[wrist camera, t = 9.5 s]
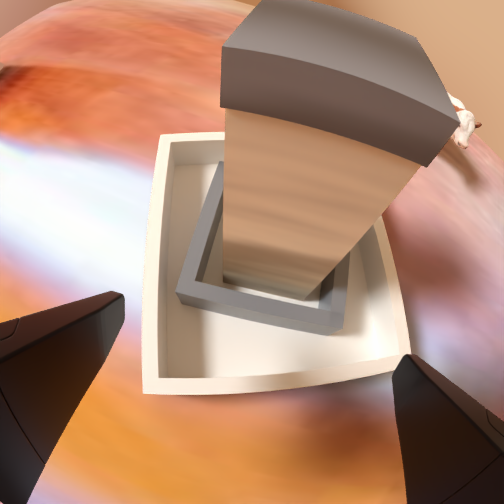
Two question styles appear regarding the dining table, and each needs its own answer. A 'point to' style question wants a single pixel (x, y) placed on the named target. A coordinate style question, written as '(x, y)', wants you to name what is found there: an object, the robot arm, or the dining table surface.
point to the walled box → (252, 297)
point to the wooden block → (318, 138)
